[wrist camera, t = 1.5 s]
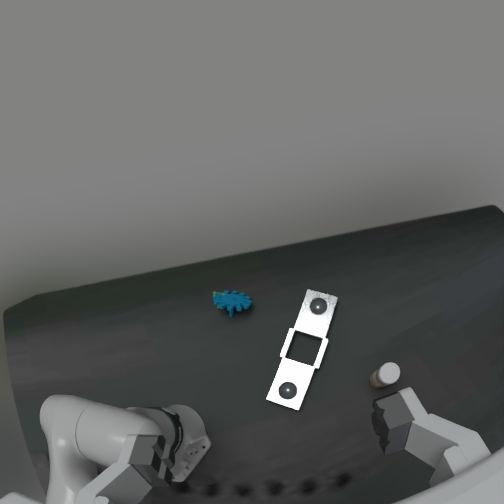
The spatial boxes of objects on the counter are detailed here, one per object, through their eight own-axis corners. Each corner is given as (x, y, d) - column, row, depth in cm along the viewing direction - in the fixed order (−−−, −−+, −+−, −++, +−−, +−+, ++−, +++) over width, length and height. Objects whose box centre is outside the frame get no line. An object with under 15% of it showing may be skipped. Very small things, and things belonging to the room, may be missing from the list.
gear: (259, 297, 80) (236, 310, 72) (256, 316, 81) (234, 331, 73) (226, 283, 85) (202, 294, 77) (225, 302, 87) (201, 314, 79)
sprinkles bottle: (387, 387, 62) (400, 382, 51) (369, 388, 63) (379, 384, 52) (386, 369, 64) (400, 361, 53) (369, 370, 65) (379, 362, 54)
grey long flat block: (302, 411, 64) (301, 411, 61) (265, 398, 68) (262, 397, 65) (340, 302, 76) (341, 297, 73) (305, 292, 79) (304, 287, 76)
